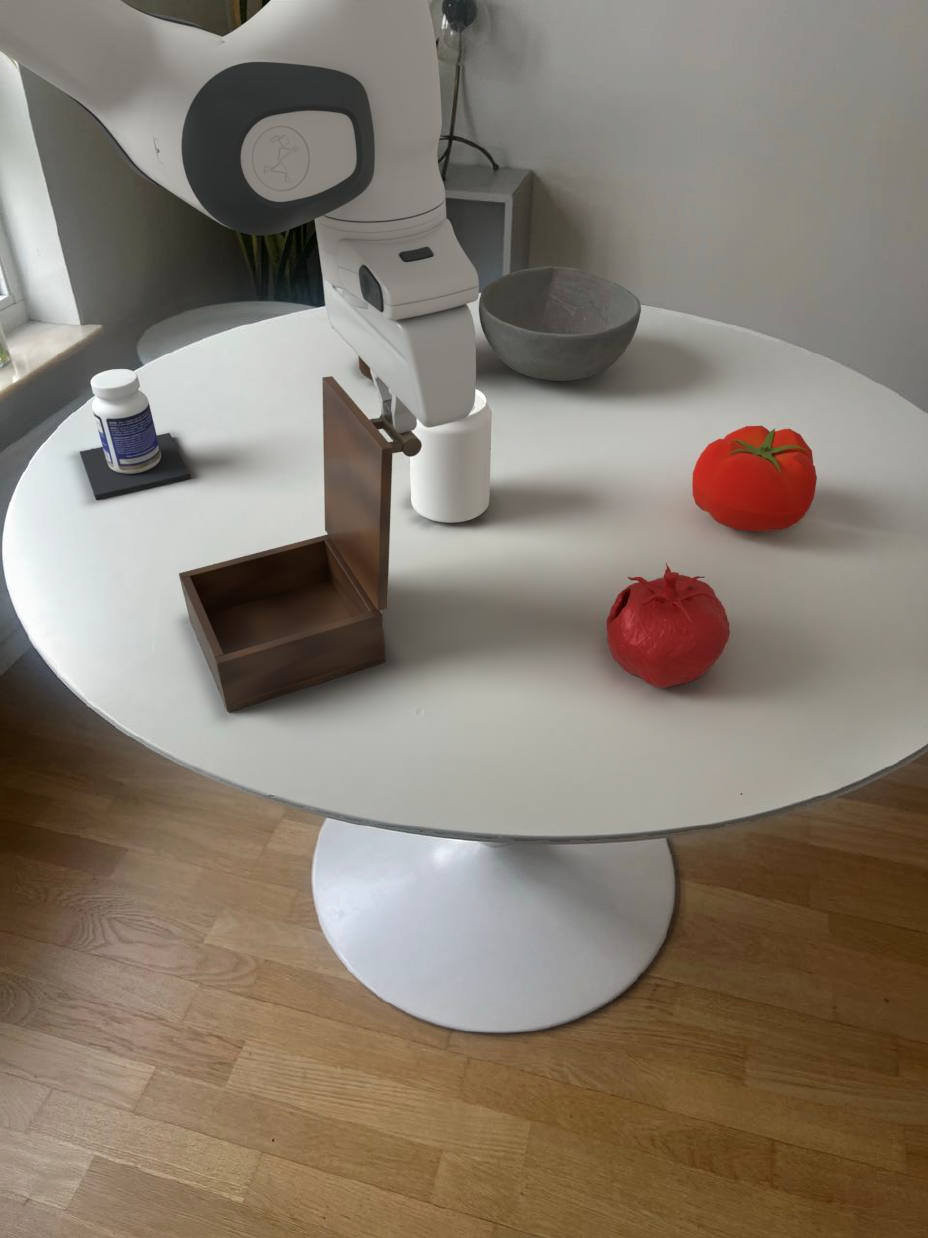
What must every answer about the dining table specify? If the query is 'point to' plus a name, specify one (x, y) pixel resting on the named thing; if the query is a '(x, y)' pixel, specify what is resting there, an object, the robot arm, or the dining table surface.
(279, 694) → the chest
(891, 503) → the dining table surface
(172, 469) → the mat
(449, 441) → the beverage can
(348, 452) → the chest lid
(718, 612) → the red crowned fruit
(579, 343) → the bowl
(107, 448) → the pill bottle
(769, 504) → the tomato
